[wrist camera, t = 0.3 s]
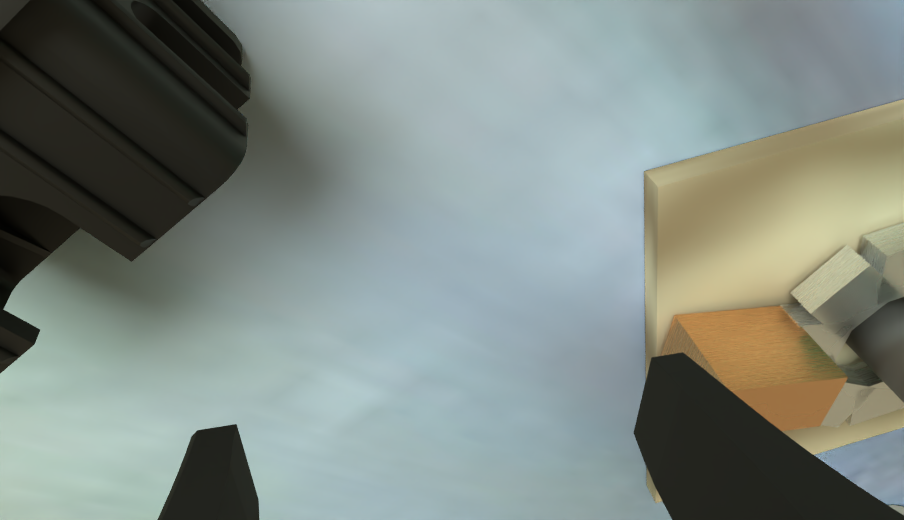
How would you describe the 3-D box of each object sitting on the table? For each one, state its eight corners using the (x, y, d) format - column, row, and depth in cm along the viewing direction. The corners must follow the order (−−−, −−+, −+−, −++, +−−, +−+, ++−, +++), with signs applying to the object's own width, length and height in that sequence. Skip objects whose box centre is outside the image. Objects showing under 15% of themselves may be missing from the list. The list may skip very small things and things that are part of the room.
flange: (1044, 207, 25) (1145, 266, 22) (917, 394, 31) (984, 460, 28) (705, 227, 22) (770, 298, 19) (634, 429, 28) (676, 508, 25)
